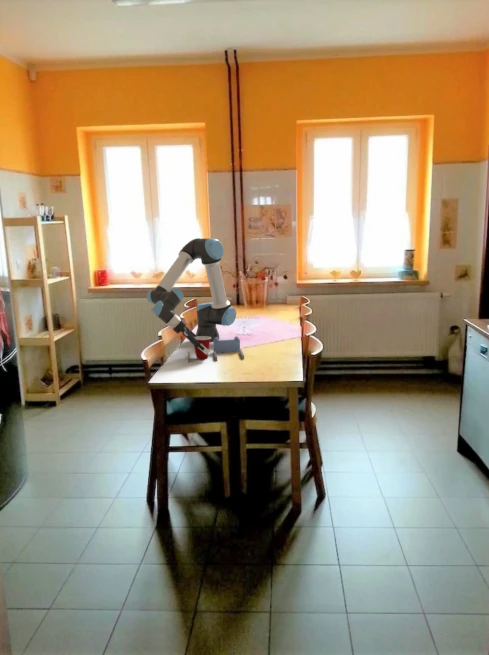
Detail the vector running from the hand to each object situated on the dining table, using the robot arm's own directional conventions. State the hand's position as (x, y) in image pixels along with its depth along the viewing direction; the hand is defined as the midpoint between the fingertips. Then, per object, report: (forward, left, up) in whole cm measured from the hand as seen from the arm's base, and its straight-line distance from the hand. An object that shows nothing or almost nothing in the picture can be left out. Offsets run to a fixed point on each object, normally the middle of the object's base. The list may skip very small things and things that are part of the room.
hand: (207, 350), depth 275 cm
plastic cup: (0, -3, -4) cm, 5 cm away
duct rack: (-2, +4, -4) cm, 6 cm away
